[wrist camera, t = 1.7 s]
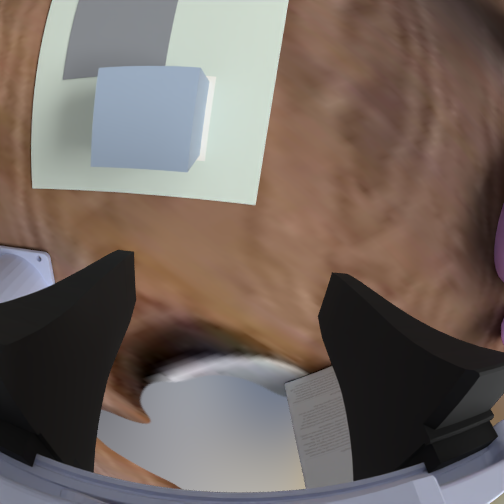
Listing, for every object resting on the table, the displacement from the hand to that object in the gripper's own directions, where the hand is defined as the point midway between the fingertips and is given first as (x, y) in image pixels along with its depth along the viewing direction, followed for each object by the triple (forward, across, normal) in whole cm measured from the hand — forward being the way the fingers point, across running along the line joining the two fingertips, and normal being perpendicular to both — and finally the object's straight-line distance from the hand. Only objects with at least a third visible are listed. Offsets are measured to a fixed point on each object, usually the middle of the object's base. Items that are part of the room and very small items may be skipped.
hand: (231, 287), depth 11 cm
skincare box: (+10, -11, +16) cm, 22 cm away
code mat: (+9, +6, -8) cm, 14 cm away
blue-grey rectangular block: (+9, +4, -5) cm, 11 cm away
